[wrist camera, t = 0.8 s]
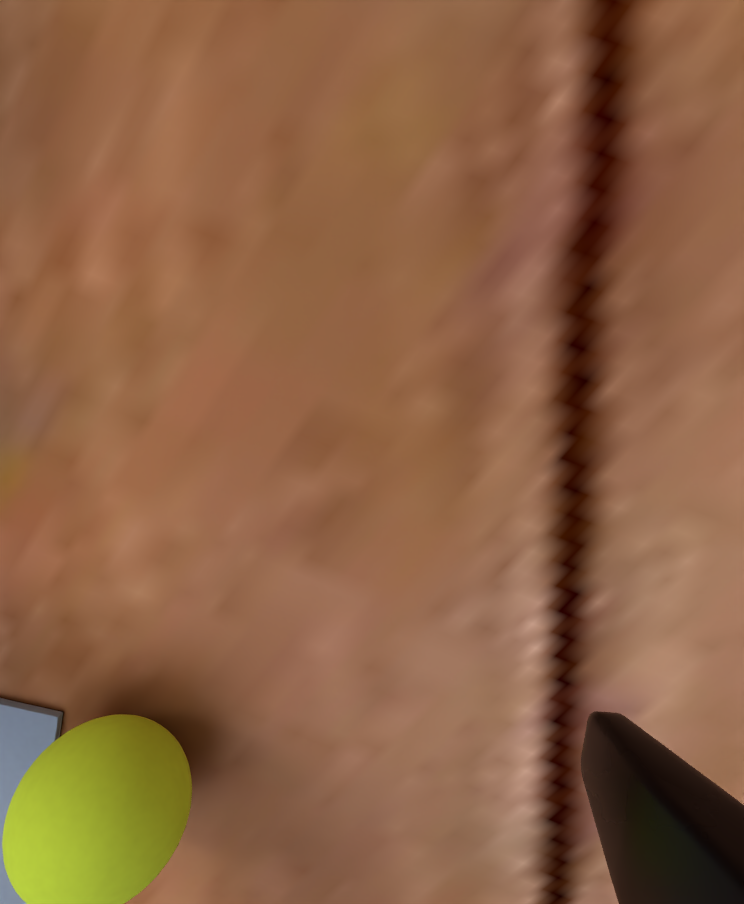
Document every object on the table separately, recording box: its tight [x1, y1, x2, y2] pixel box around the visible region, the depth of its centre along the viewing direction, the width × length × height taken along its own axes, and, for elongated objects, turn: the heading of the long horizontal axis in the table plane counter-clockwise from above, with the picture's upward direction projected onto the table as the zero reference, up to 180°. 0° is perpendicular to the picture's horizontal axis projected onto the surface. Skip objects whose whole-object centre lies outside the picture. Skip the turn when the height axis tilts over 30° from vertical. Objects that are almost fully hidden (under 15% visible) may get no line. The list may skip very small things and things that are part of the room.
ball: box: [2, 714, 192, 904], centre depth 20 cm, size 7×7×7 cm
